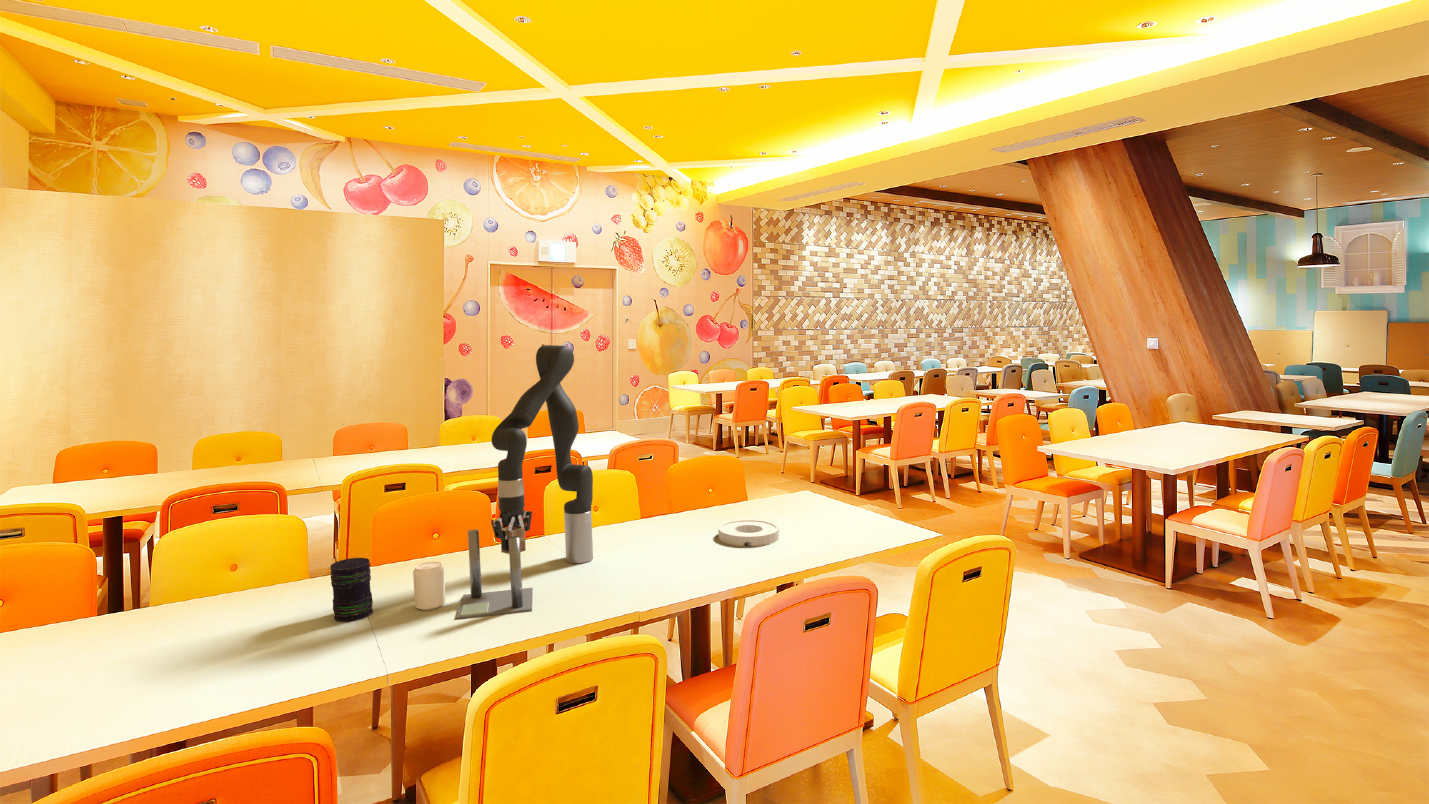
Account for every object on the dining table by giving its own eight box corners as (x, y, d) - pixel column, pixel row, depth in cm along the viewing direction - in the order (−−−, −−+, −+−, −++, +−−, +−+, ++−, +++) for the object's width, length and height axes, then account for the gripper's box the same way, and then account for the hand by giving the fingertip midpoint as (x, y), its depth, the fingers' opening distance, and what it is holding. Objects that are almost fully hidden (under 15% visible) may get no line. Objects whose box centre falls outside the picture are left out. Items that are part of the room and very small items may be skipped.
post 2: (512, 605, 194) (508, 536, 192) (523, 603, 194) (519, 535, 193) (511, 609, 191) (508, 539, 189) (522, 607, 192) (519, 538, 190)
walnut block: (514, 547, 209) (513, 525, 209) (525, 550, 206) (524, 528, 206) (501, 552, 205) (500, 529, 204) (512, 554, 202) (511, 531, 202)
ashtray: (750, 526, 274) (750, 516, 274) (792, 538, 256) (792, 528, 256) (706, 537, 259) (705, 527, 259) (746, 551, 242) (746, 540, 241)
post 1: (471, 595, 201) (468, 529, 200) (482, 594, 202) (479, 529, 200) (470, 599, 199) (467, 532, 197) (481, 598, 199) (478, 531, 197)
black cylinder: (380, 612, 192) (377, 560, 190) (347, 625, 183) (343, 571, 182) (359, 605, 197) (356, 555, 195) (326, 617, 188) (322, 565, 187)
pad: (463, 606, 193) (463, 605, 193) (488, 603, 195) (488, 602, 195) (461, 615, 187) (460, 614, 187) (486, 613, 188) (486, 611, 188)
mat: (463, 596, 202) (463, 593, 202) (532, 589, 207) (532, 586, 207) (456, 619, 186) (456, 615, 186) (531, 610, 191) (531, 607, 191)
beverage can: (451, 601, 199) (449, 561, 198) (433, 612, 191) (430, 571, 190) (428, 599, 201) (425, 559, 200) (409, 609, 193) (406, 569, 192)
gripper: (521, 487, 212) (523, 540, 214) (483, 496, 200) (485, 552, 202) (537, 490, 208) (539, 544, 210) (500, 499, 196) (502, 557, 198)
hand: (513, 548), depth 206 cm, fingers closed on walnut block, 5 cm apart
